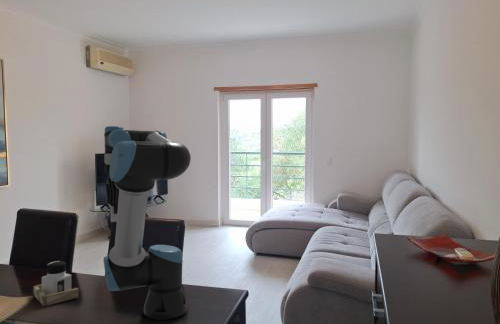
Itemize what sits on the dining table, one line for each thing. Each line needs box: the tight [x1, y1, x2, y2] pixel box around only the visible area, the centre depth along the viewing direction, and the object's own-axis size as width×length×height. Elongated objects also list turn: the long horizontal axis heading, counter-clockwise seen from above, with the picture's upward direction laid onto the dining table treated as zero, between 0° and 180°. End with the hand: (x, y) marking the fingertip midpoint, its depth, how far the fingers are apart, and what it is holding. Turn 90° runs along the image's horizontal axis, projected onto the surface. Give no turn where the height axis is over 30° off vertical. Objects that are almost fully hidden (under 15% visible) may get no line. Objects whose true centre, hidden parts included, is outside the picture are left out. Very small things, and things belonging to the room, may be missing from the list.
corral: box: [32, 283, 79, 307], centre depth 144 cm, size 14×12×4 cm
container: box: [41, 260, 72, 295], centre depth 145 cm, size 8×8×13 cm
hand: (114, 221), depth 151 cm, fingers closed
